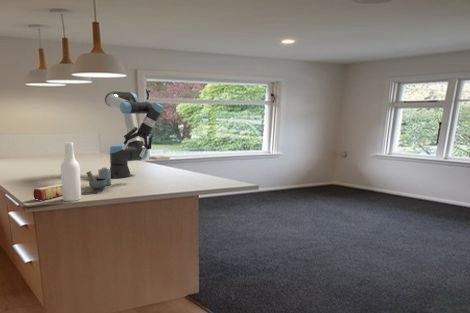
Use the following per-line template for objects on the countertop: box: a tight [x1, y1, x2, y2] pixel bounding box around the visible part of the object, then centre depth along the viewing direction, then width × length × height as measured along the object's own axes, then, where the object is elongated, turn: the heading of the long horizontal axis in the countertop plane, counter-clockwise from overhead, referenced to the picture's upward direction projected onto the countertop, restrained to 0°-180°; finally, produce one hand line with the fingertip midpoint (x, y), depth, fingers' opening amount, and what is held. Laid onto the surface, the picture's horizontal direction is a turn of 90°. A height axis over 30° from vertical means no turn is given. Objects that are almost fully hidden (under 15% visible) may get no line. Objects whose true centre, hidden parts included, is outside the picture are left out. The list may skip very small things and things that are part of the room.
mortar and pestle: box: [85, 170, 107, 193], centre depth 193 cm, size 11×9×12 cm
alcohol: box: [60, 141, 82, 202], centre depth 173 cm, size 9×9×30 cm
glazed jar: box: [98, 167, 112, 187], centre depth 209 cm, size 7×7×11 cm
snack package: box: [32, 183, 62, 201], centre depth 181 cm, size 21×7×7 cm, turn 157°
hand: (132, 153), depth 219 cm, fingers open, 13 cm apart
